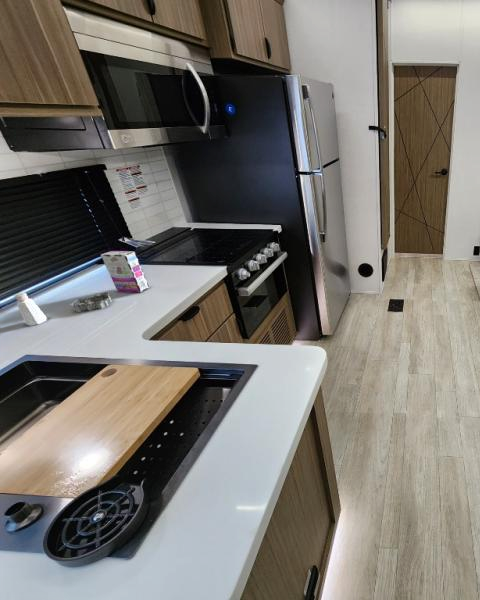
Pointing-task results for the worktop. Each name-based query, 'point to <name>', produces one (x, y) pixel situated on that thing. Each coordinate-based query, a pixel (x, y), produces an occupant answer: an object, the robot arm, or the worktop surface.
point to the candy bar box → (125, 271)
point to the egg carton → (92, 302)
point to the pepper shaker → (29, 310)
